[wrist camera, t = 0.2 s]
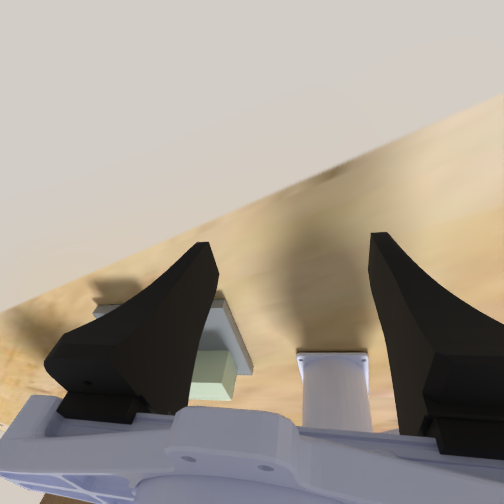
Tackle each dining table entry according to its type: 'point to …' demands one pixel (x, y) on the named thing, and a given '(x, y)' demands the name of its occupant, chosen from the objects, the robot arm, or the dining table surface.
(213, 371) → the green brick
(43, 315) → the dining table surface
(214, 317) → the baseplate
